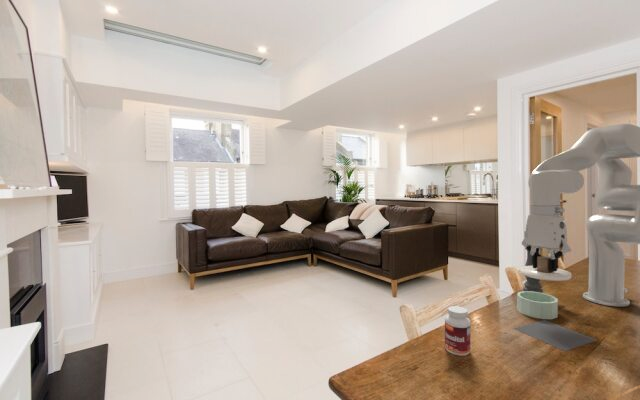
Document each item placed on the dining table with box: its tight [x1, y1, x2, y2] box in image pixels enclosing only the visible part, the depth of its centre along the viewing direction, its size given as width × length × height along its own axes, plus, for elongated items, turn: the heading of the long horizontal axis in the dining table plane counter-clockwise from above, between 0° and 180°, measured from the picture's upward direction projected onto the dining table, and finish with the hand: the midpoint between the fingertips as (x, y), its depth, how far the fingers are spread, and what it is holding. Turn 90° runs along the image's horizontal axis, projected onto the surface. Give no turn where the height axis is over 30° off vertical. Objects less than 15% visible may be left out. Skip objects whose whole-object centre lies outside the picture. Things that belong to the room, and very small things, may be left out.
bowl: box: [516, 290, 559, 320], centre depth 105 cm, size 11×11×6 cm
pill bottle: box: [444, 305, 471, 357], centre depth 82 cm, size 6×6×11 cm
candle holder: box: [522, 230, 544, 293], centre depth 118 cm, size 6×6×25 cm
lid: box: [519, 255, 572, 282], centre depth 98 cm, size 13×13×5 cm
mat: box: [513, 319, 598, 352], centre depth 89 cm, size 14×14×1 cm
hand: (544, 268), depth 98 cm, fingers closed on lid, 4 cm apart
